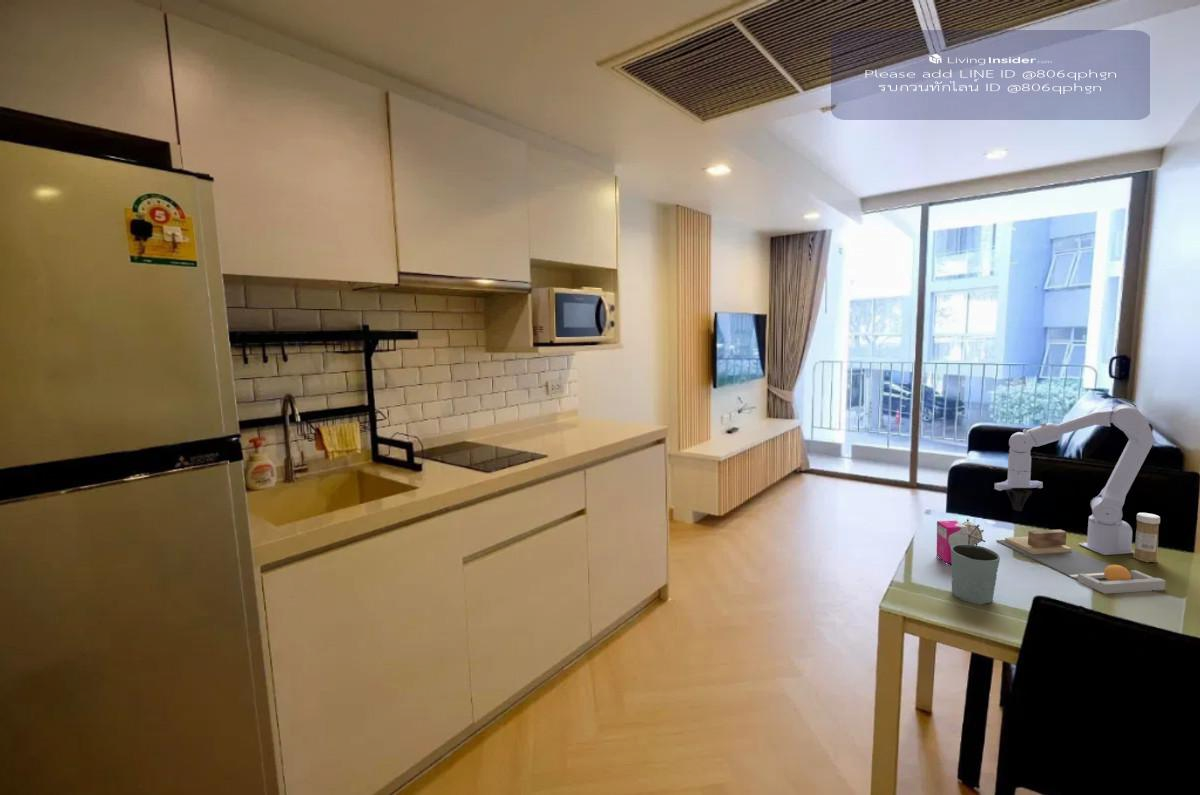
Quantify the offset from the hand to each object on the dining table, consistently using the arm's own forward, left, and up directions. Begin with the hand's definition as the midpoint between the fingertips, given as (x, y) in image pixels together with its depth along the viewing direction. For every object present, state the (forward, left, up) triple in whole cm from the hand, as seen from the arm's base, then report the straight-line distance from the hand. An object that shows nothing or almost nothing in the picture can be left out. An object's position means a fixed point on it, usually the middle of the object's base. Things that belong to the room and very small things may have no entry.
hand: (1017, 510), depth 167 cm
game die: (+21, +6, -9) cm, 23 cm away
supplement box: (+33, +15, -9) cm, 37 cm away
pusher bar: (+2, +13, -6) cm, 15 cm away
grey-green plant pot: (+42, +35, -9) cm, 55 cm away
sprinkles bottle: (-19, +22, -9) cm, 30 cm away
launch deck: (+2, +21, -8) cm, 23 cm away
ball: (+2, +34, -6) cm, 34 cm away
